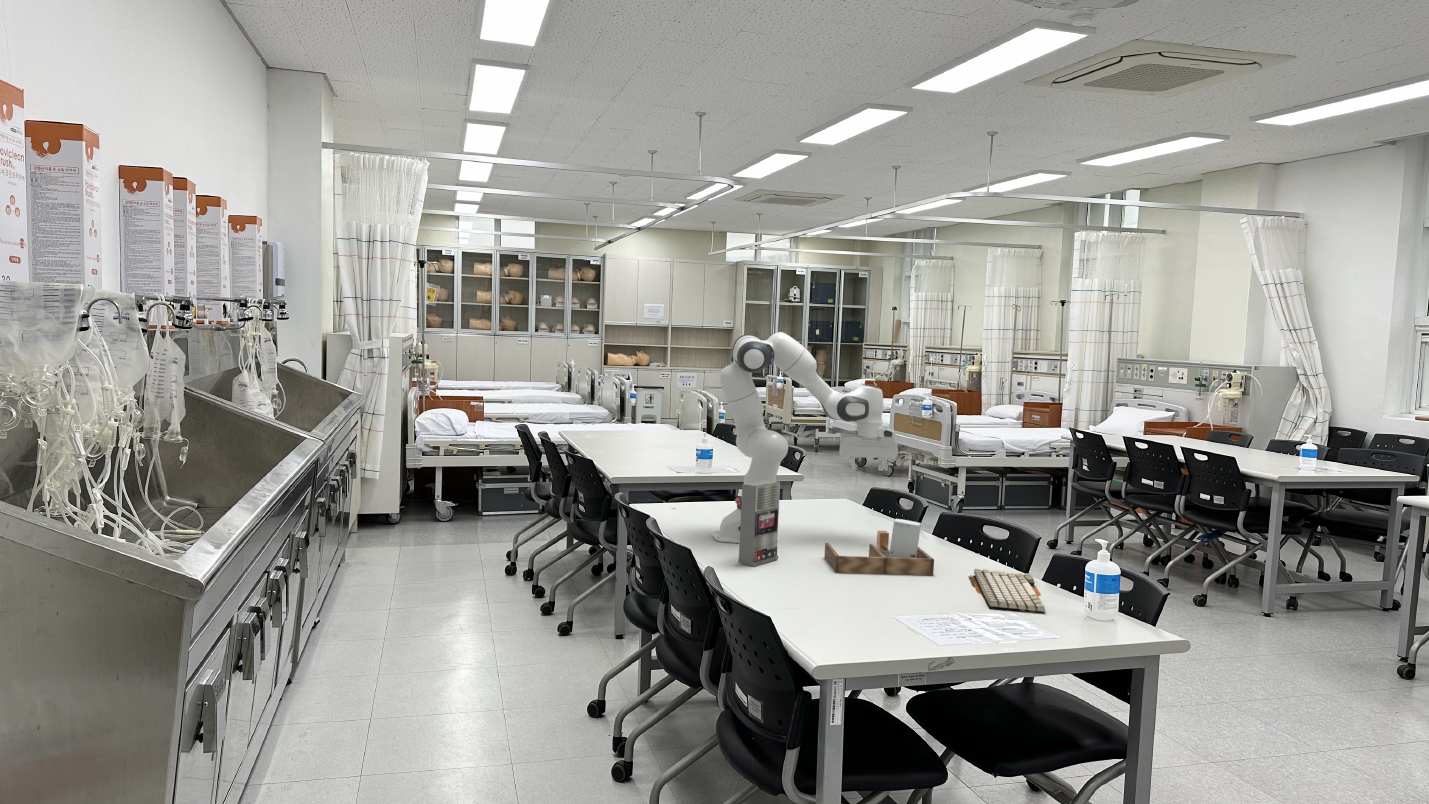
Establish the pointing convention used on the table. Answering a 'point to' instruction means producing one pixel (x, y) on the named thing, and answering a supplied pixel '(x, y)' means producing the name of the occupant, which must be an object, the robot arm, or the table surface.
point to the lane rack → (880, 563)
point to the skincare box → (904, 539)
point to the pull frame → (883, 542)
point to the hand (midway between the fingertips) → (867, 470)
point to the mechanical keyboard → (1007, 591)
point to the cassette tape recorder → (759, 522)
